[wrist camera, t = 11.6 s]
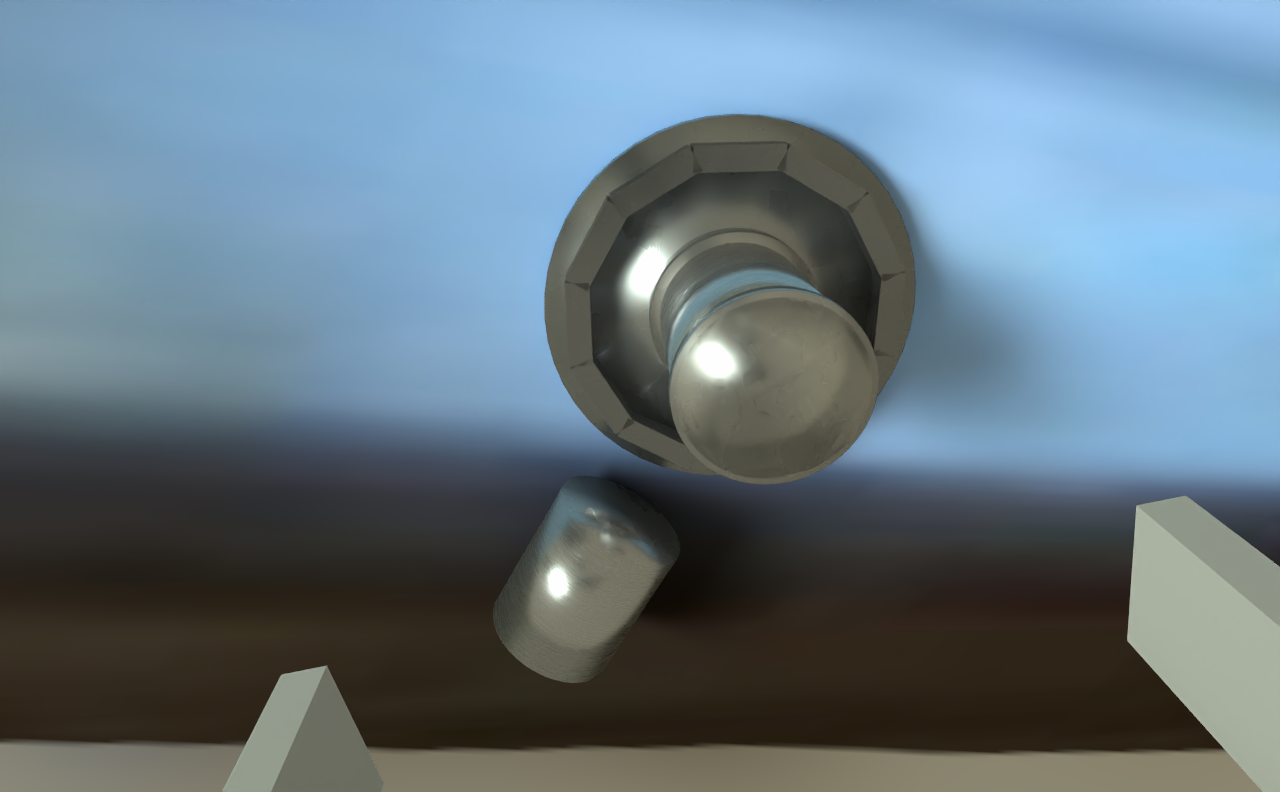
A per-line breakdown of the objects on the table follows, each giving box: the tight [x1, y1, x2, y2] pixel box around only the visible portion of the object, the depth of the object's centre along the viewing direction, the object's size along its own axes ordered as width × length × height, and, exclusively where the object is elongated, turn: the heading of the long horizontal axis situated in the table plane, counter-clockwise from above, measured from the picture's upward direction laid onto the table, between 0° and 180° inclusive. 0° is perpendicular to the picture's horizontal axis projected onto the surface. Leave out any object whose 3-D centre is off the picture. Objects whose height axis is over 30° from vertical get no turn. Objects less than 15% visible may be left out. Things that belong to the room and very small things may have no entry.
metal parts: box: [493, 114, 915, 683], centre depth 33 cm, size 25×16×6 cm, turn 151°
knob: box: [649, 227, 878, 484], centre depth 29 cm, size 7×7×9 cm
